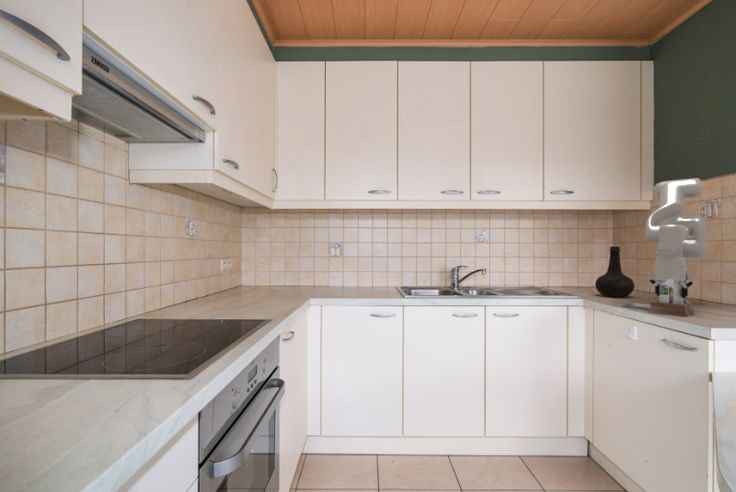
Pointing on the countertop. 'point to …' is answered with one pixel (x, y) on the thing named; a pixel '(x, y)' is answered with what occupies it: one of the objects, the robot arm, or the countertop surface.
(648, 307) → the plate
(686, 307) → the socket
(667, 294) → the syrup box
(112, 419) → the countertop surface
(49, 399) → the countertop surface
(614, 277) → the glass bottle
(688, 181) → the robot arm
